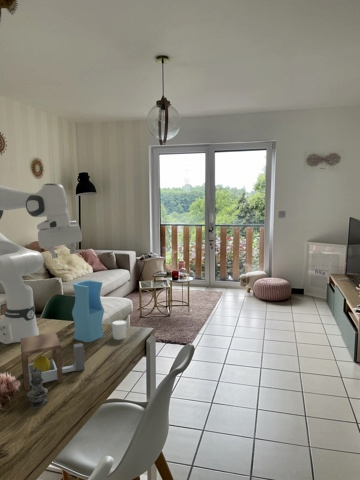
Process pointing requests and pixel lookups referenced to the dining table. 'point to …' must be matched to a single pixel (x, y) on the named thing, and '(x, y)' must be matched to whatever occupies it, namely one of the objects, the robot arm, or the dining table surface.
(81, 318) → the blue angular vessel
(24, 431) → the dining table surface
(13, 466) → the dining table surface
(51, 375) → the slider
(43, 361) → the lemon
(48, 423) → the dining table surface
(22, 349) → the tunnel
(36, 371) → the gray stone ornament
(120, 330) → the grey white cylinder
